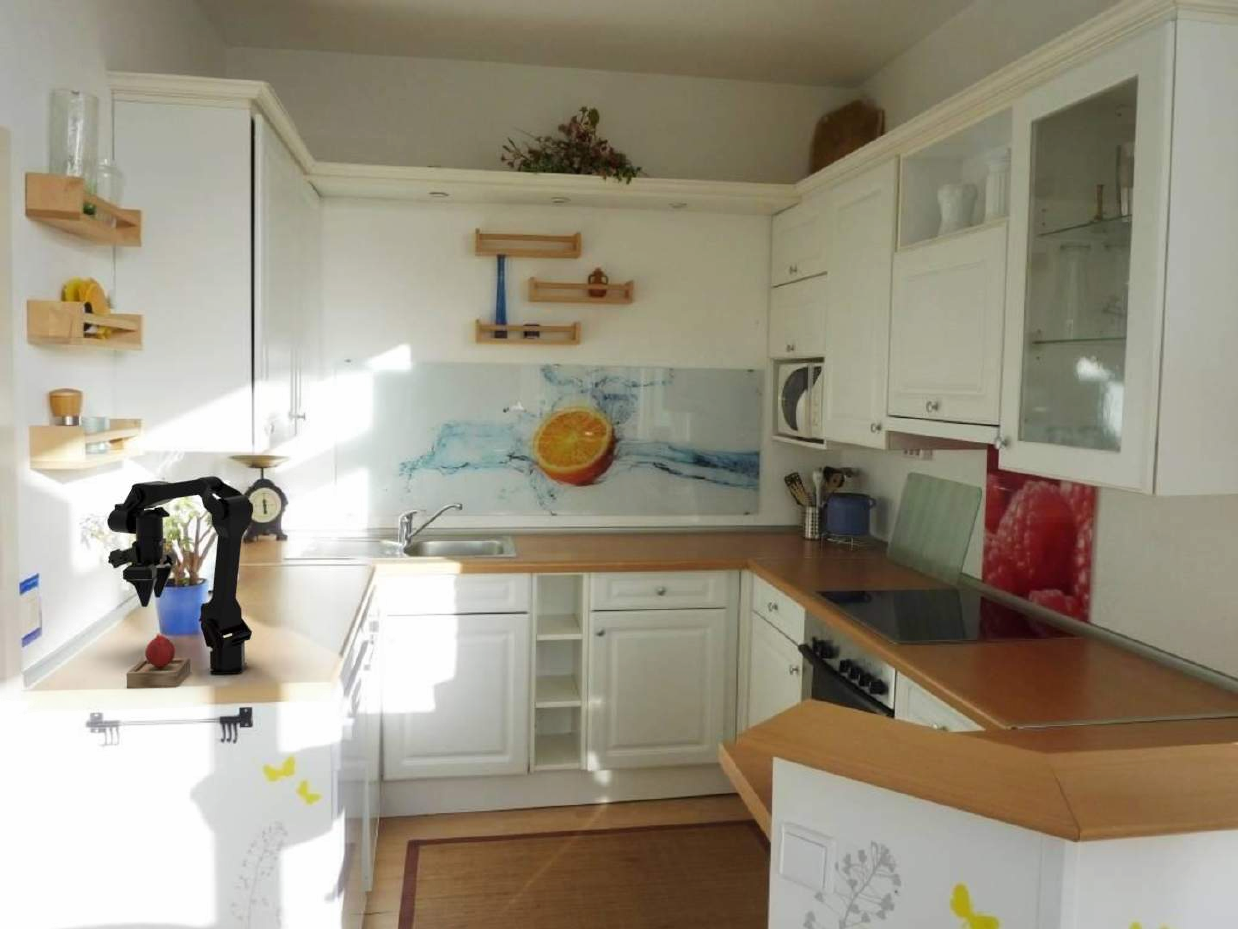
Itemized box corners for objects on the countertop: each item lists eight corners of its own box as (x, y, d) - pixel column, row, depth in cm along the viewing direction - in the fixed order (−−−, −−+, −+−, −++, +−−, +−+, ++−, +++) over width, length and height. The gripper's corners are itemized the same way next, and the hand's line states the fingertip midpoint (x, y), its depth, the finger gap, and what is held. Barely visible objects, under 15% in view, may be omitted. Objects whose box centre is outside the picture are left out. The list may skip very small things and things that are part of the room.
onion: (180, 665, 216) (179, 629, 215) (168, 673, 210) (167, 636, 209) (153, 665, 216) (152, 629, 215) (140, 672, 210) (139, 636, 209)
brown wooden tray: (190, 672, 219) (190, 658, 219) (176, 687, 209) (176, 672, 209) (143, 673, 217) (142, 659, 217) (126, 688, 208) (126, 673, 207)
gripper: (127, 529, 235) (129, 593, 237) (97, 543, 217) (99, 612, 218) (176, 529, 237) (177, 592, 238) (150, 543, 218) (152, 611, 220)
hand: (151, 602), depth 229 cm, fingers open, 9 cm apart
